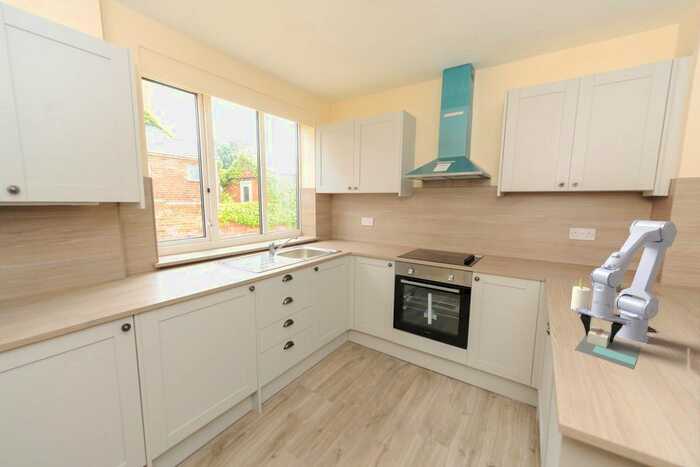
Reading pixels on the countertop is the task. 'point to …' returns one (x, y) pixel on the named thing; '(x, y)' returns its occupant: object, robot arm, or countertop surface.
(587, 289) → the candle
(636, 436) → the countertop surface
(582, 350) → the mat
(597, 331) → the card box
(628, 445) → the countertop surface
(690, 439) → the countertop surface
